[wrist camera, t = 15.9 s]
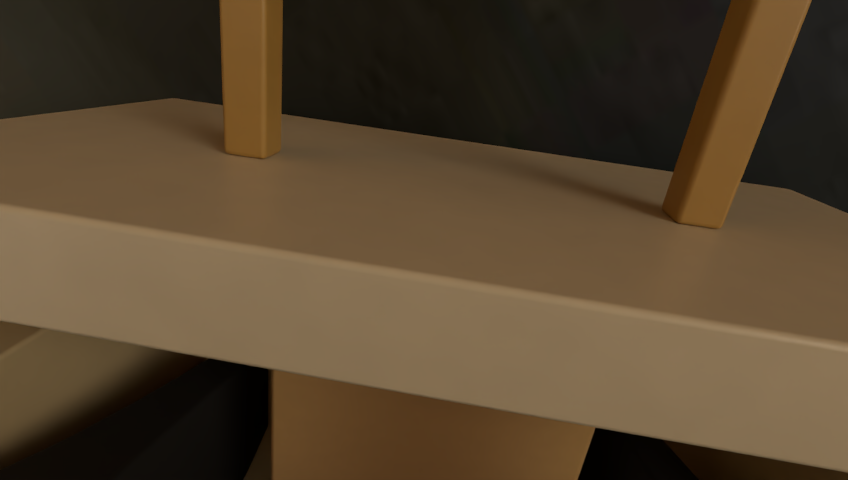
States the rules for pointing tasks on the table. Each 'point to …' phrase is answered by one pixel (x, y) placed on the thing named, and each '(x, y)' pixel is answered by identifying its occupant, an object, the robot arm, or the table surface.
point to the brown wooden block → (410, 437)
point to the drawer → (428, 265)
